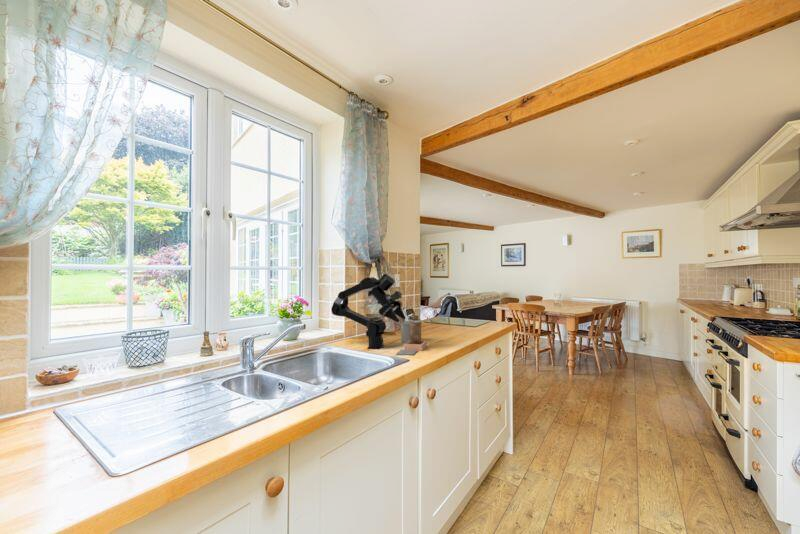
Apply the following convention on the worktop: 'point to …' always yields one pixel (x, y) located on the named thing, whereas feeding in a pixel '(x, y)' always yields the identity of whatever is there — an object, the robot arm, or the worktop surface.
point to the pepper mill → (415, 330)
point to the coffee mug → (405, 332)
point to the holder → (415, 346)
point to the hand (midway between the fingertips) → (401, 320)
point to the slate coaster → (406, 352)
